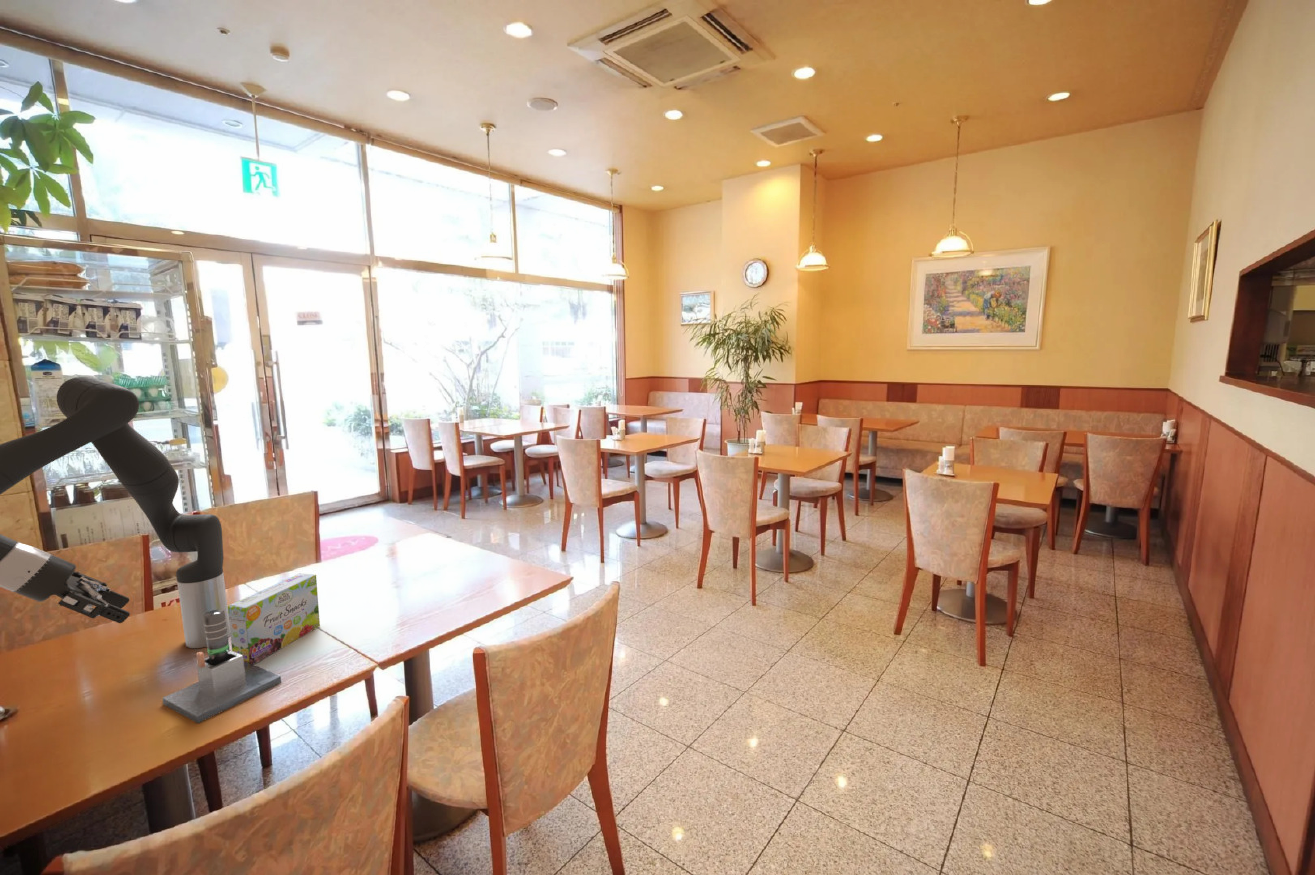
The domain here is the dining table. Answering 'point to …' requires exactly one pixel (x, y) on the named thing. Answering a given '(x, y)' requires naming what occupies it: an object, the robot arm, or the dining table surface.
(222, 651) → the grey round-topped cylinder
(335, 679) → the dining table surface
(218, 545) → the robot arm
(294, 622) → the snack box
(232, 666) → the grey square socket base
